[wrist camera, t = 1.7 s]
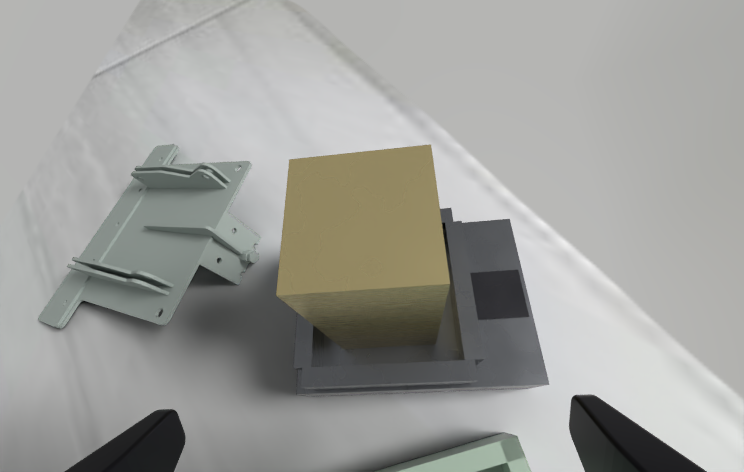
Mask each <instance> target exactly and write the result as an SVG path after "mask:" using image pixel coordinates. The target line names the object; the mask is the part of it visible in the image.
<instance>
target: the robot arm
mask: <svg viewBox="0 0 744 472" xmlns="http://www.w3.org/2000/svg"><path fill="white" fill-rule="evenodd" d="M569 429H570V434H571V437H572V440H573V442H574V445H575V447H576V450H577V452H578V455H579V457H580V460H581V462H582V465H583V467H584V470H585V472H707V471H705V470H704V469H702V468H701V467H699V466H698V465H696V464H695V463H693V462H692V461H690V460H689V459H688V458H686V457H685V456H683V455H682V454H680V453H679V452H677V451H676V450H674V449H673V448H671V447H670V446H669V445H667V444H666V443H664V442H663V441H661V440H660V439H658V438H657V437H655V436H654V435H652V434H651V433H649V432H648V431H647V430H645V429H644V428H642V427H641V426H639V425H638V424H636V423H635V422H633V421H632V420H630V419H629V418H628V417H626V416H625V415H623V414H622V413H620V412H619V411H617V410H616V409H614V408H613V407H611V406H610V405H609V404H607V403H606V402H604V401H603V400H601V399H600V398H598V397H597V396H594V395H575V396H573V397H572V400H571V409H570V420H569ZM184 445H185V433H184V430H183V427H182V424H181V422H180V419H179V416H178V414H177V412H176V411H175V410H173V409H166V410H157V411H154V412H153V413H151V414H150V415H148V416H147V417H145V418H144V419H142V420H141V421H139V422H138V423H136V424H135V425H133V426H132V427H130V428H129V429H127V430H126V431H124V432H123V433H121V434H120V435H118V436H117V437H115V438H114V439H112V440H111V441H109V442H108V443H107V444H105V445H104V446H102V447H101V448H99V449H98V450H96V451H95V452H93V453H92V454H90V455H89V456H87V457H86V458H84V459H83V460H81V461H80V462H78V463H77V464H75V465H74V466H72V467H71V468H69V469H68V470H66V471H65V472H174V470H175V468H176V465H177V463H178V460H179V458H180V455H181V453H182V450H183V448H184Z"/></svg>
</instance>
